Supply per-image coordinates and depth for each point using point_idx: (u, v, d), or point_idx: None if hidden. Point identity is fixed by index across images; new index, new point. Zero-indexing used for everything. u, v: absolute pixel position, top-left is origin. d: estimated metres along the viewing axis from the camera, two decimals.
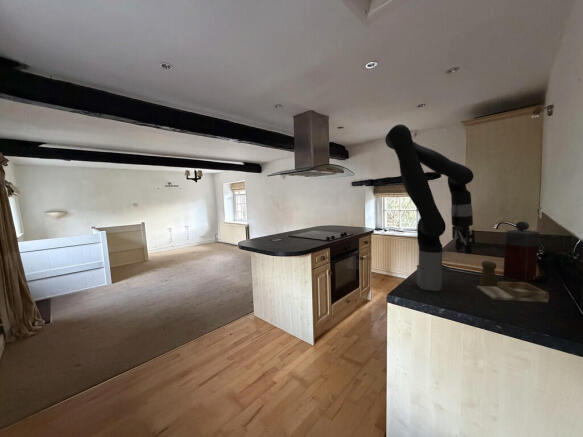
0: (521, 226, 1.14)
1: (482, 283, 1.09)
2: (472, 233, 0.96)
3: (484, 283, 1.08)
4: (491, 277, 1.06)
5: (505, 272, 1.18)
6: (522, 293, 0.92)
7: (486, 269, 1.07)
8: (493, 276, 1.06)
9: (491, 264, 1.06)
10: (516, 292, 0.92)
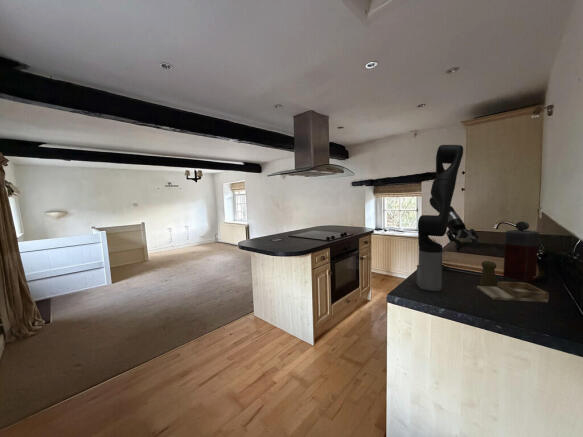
0: (521, 226, 1.14)
1: (482, 283, 1.09)
2: None
3: (484, 283, 1.08)
4: (491, 277, 1.06)
5: (505, 272, 1.18)
6: (522, 293, 0.92)
7: (486, 269, 1.07)
8: (493, 276, 1.06)
9: (491, 264, 1.06)
10: (516, 292, 0.92)
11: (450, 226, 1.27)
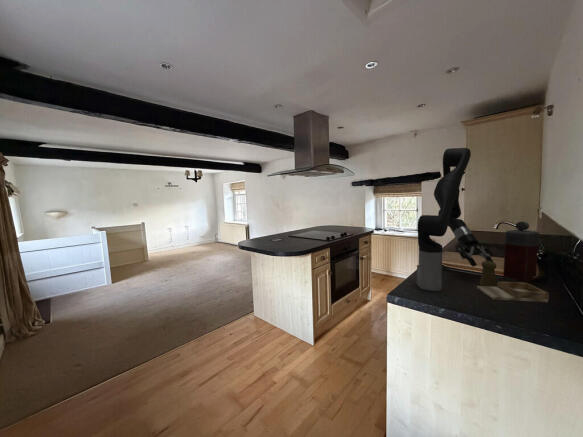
0: (521, 226, 1.14)
1: (482, 283, 1.09)
2: None
3: (484, 283, 1.08)
4: (491, 277, 1.06)
5: (505, 272, 1.18)
6: (522, 293, 0.92)
7: (486, 269, 1.07)
8: (493, 276, 1.06)
9: (491, 264, 1.06)
10: (516, 292, 0.92)
11: (462, 242, 1.19)
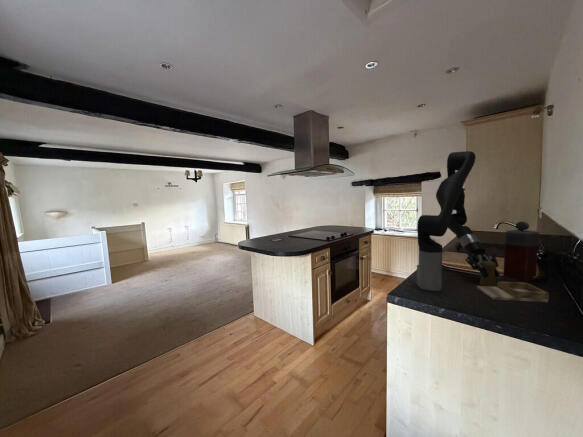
0: (521, 226, 1.14)
1: (482, 283, 1.09)
2: None
3: (484, 283, 1.08)
4: (491, 277, 1.06)
5: (505, 272, 1.18)
6: (522, 293, 0.92)
7: (486, 269, 1.07)
8: (493, 276, 1.06)
9: (491, 264, 1.06)
10: (516, 292, 0.92)
11: (468, 250, 1.15)
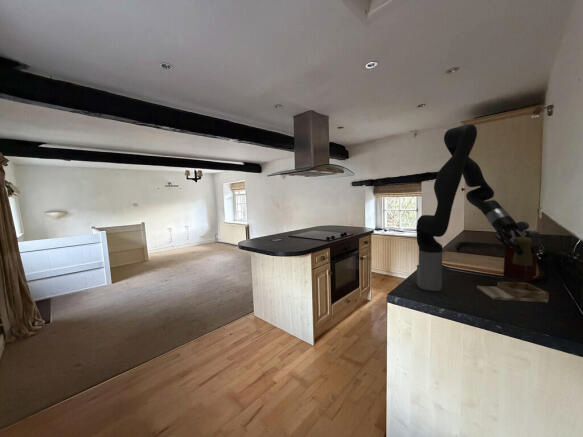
0: (521, 226, 1.14)
1: (516, 262, 0.96)
2: None
3: (518, 261, 0.95)
4: (527, 254, 0.93)
5: (505, 272, 1.18)
6: (522, 293, 0.92)
7: (520, 245, 0.94)
8: (529, 253, 0.93)
9: (527, 239, 0.93)
10: (516, 292, 0.92)
11: (498, 226, 1.02)
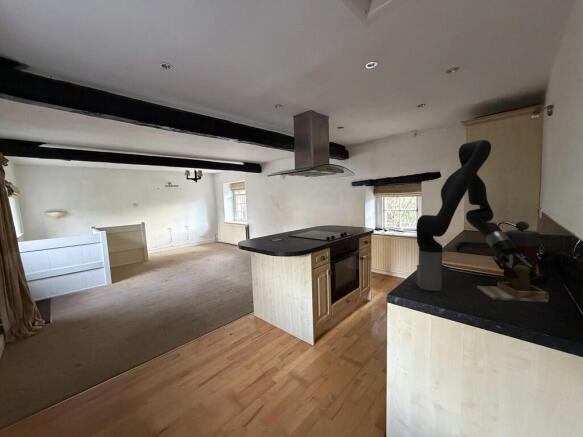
0: (521, 226, 1.14)
1: None
2: None
3: (517, 289, 0.97)
4: (525, 283, 0.95)
5: (505, 272, 1.18)
6: (522, 293, 0.92)
7: (518, 274, 0.97)
8: (527, 282, 0.95)
9: (525, 268, 0.95)
10: (516, 292, 0.92)
11: (497, 249, 1.03)
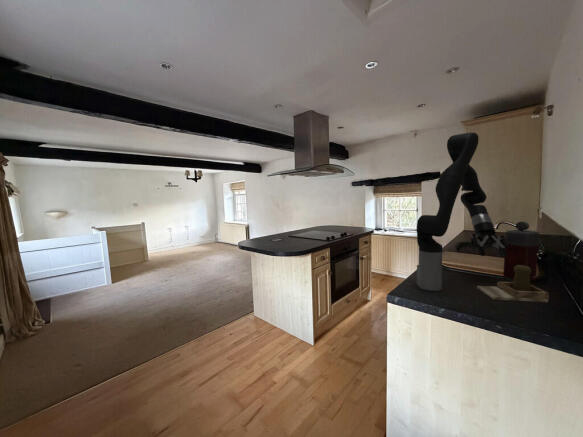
0: (521, 226, 1.14)
1: None
2: None
3: (517, 289, 0.97)
4: (526, 283, 0.95)
5: (505, 272, 1.18)
6: (522, 293, 0.92)
7: (519, 274, 0.97)
8: (528, 282, 0.95)
9: (526, 269, 0.95)
10: (516, 292, 0.92)
11: (477, 229, 1.13)
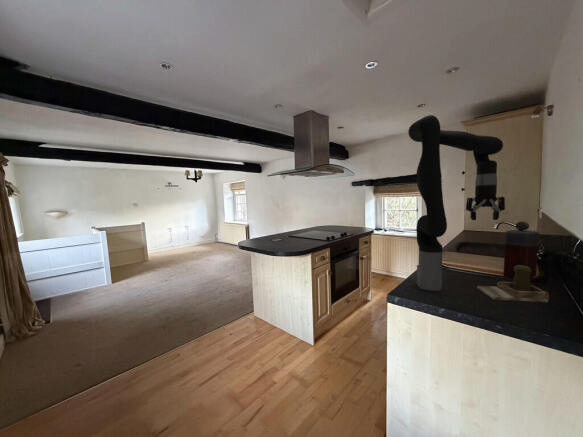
0: (521, 226, 1.14)
1: None
2: None
3: (517, 289, 0.97)
4: (526, 283, 0.95)
5: (505, 272, 1.18)
6: (522, 293, 0.92)
7: (519, 274, 0.97)
8: (528, 282, 0.95)
9: (526, 269, 0.95)
10: (516, 292, 0.92)
11: (477, 191, 1.07)
